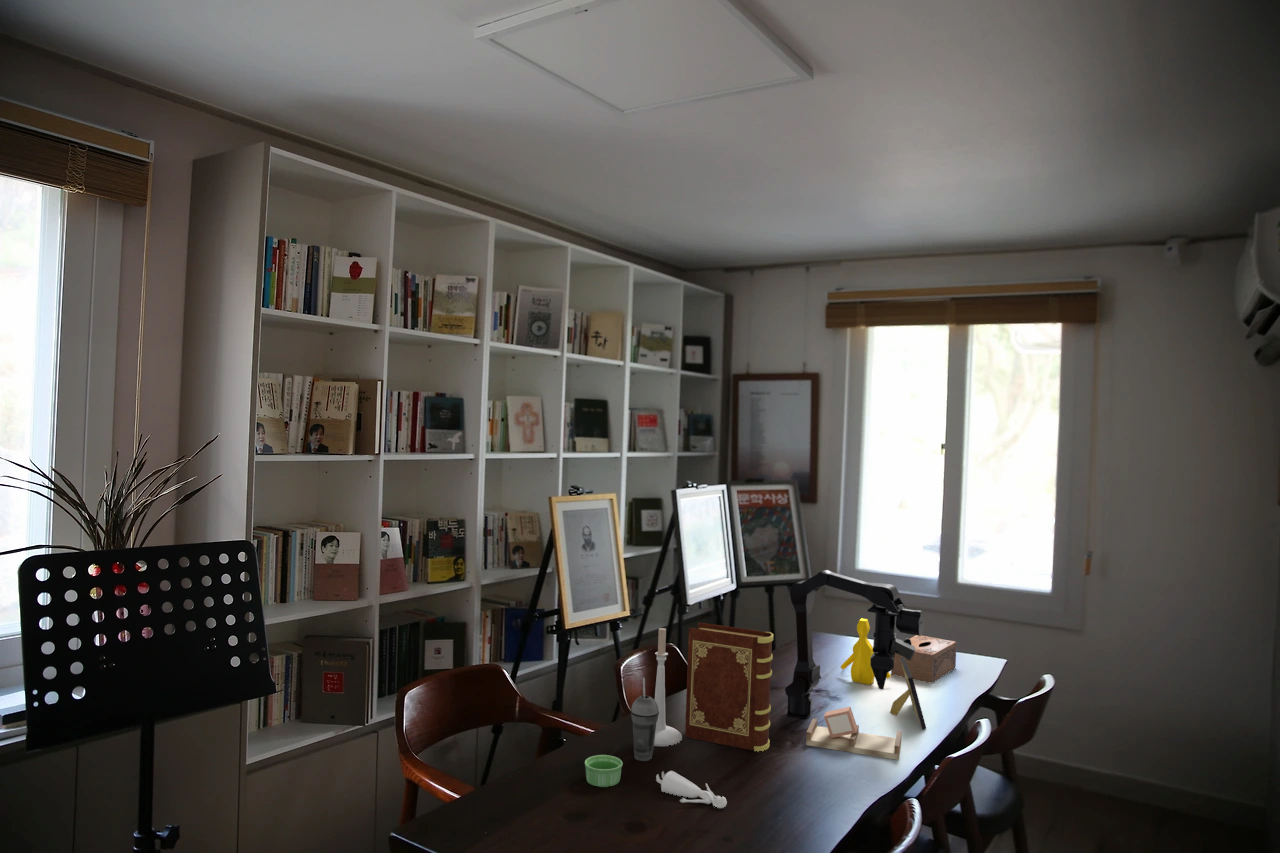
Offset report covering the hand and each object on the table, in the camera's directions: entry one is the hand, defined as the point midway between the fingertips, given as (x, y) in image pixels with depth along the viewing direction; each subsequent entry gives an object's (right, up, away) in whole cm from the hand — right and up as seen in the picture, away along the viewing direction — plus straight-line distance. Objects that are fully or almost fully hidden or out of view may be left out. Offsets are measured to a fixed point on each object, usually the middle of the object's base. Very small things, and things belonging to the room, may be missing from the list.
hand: (881, 684), depth 237 cm
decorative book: (-45, -12, -10) cm, 47 cm away
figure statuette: (+8, -15, +49) cm, 51 cm away
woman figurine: (-57, -12, -46) cm, 74 cm away
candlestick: (-64, -12, -9) cm, 65 cm away
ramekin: (-77, -11, -38) cm, 87 cm away
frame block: (-13, -11, -9) cm, 19 cm away
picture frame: (+12, -15, +16) cm, 25 cm away
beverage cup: (-68, -11, -24) cm, 73 cm away
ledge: (-10, -13, -10) cm, 19 cm away
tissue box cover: (+34, -16, +66) cm, 76 cm away
